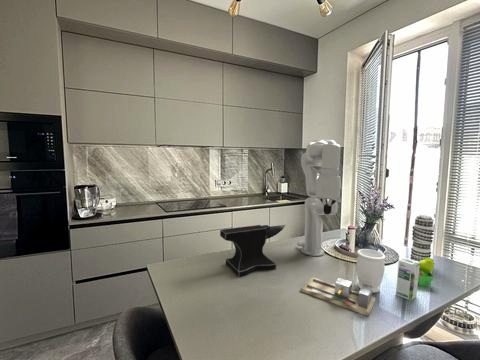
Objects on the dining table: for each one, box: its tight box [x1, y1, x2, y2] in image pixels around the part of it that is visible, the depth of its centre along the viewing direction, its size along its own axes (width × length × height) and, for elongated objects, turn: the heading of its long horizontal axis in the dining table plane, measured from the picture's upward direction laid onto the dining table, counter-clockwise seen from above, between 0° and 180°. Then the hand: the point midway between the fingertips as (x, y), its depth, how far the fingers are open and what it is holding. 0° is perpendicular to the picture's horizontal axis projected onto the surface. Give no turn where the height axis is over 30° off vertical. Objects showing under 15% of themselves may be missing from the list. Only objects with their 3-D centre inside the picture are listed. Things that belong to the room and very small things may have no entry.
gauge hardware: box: [307, 279, 373, 309], centre depth 98 cm, size 22×8×5 cm, turn 53°
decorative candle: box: [409, 214, 435, 262], centre depth 130 cm, size 9×9×25 cm
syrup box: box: [395, 257, 420, 302], centre depth 99 cm, size 6×6×14 cm
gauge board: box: [300, 277, 376, 317], centre depth 99 cm, size 25×12×2 cm, turn 53°
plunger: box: [334, 277, 353, 299], centre depth 96 cm, size 5×9×5 cm, turn 143°
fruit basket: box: [418, 257, 435, 288], centre depth 111 cm, size 11×9×11 cm
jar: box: [356, 248, 386, 294], centre depth 105 cm, size 11×10×15 cm
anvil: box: [219, 224, 286, 279], centre depth 122 cm, size 35×15×20 cm, turn 117°
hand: (327, 213), depth 111 cm, fingers closed
